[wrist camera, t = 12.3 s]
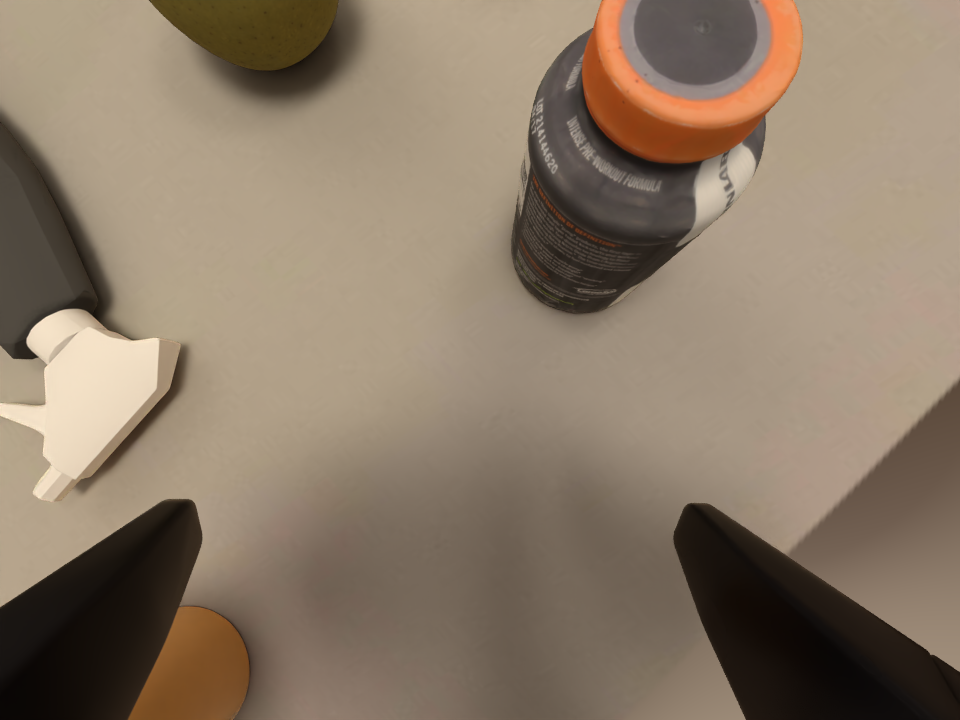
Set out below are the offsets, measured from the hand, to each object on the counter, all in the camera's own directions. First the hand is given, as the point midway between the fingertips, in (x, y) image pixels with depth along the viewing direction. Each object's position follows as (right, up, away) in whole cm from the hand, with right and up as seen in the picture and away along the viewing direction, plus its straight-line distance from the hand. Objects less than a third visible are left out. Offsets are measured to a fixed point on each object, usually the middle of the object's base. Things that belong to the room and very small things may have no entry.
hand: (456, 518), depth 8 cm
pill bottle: (+5, +8, +12) cm, 15 cm away
